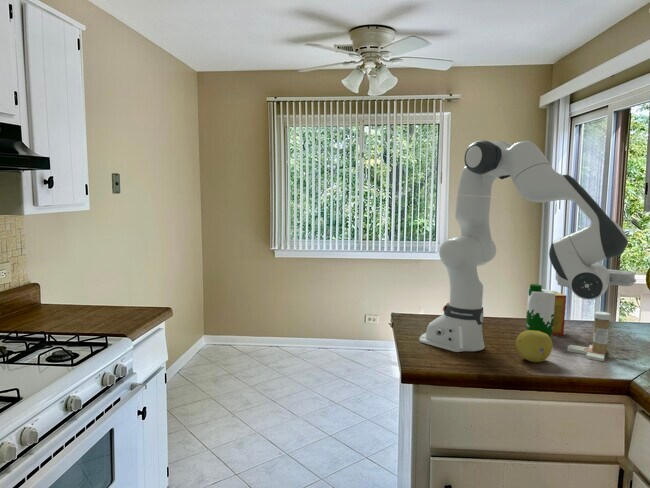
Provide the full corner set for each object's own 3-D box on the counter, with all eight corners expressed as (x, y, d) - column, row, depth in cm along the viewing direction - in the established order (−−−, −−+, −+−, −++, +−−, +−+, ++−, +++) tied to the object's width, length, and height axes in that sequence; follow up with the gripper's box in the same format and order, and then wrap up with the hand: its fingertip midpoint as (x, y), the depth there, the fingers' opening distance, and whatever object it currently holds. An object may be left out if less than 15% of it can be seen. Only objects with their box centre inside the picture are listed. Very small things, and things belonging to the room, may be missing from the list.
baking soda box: (563, 335, 175) (566, 294, 174) (546, 335, 175) (549, 294, 174) (550, 328, 185) (553, 289, 183) (534, 328, 185) (537, 289, 183)
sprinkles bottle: (593, 348, 156) (596, 310, 155) (608, 351, 153) (611, 312, 152) (590, 351, 153) (593, 312, 152) (605, 354, 150) (608, 315, 149)
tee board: (565, 354, 153) (565, 351, 153) (570, 344, 164) (570, 341, 164) (604, 361, 146) (604, 358, 146) (606, 350, 158) (606, 347, 158)
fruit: (558, 364, 143) (561, 333, 142) (529, 367, 140) (532, 335, 139) (535, 353, 153) (537, 324, 152) (508, 355, 150) (510, 326, 149)
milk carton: (523, 332, 177) (526, 282, 175) (548, 334, 175) (551, 284, 174) (528, 339, 169) (532, 286, 167) (554, 341, 167) (558, 288, 165)
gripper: (637, 270, 122) (636, 265, 133) (553, 263, 133) (559, 258, 145) (635, 293, 122) (635, 286, 134) (551, 284, 134) (558, 278, 145)
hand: (595, 271), depth 139 cm, fingers open, 8 cm apart
